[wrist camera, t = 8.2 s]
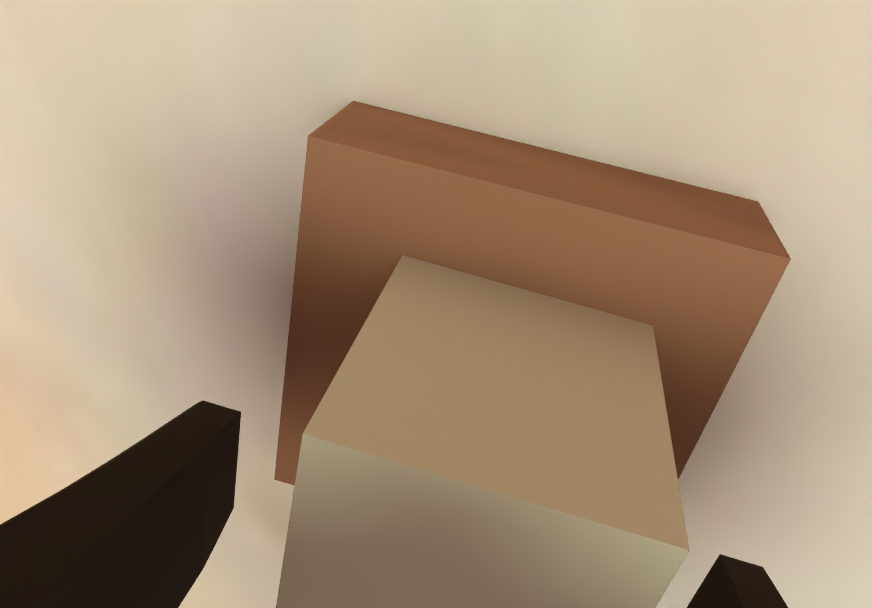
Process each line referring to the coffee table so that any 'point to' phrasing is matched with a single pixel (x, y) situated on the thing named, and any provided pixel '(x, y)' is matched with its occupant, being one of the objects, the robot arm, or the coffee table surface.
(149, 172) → the coffee table surface
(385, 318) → the beige block
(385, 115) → the walnut base
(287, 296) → the coffee table surface
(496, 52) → the coffee table surface
